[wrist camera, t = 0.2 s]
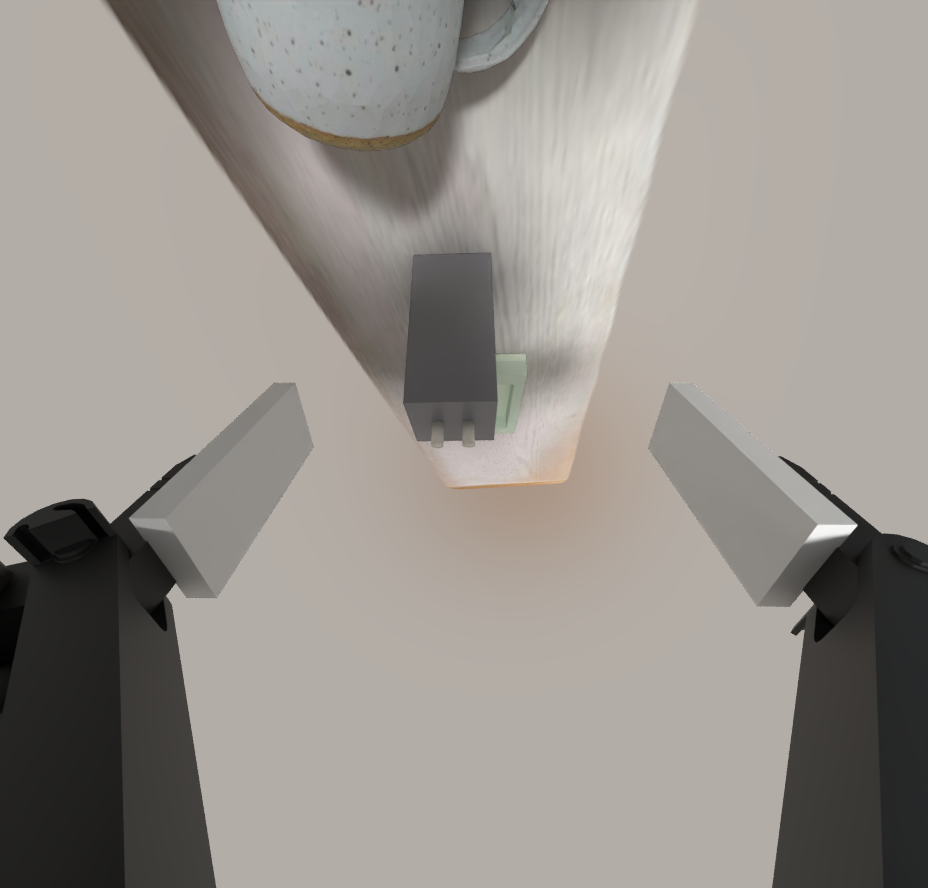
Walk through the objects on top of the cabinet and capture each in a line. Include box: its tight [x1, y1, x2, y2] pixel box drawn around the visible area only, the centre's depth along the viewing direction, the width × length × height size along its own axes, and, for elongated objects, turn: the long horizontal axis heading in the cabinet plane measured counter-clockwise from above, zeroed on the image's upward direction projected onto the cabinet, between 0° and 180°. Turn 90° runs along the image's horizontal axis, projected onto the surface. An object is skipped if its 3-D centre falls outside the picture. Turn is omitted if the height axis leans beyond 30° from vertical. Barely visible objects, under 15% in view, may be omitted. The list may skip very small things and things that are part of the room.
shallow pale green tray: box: [495, 353, 527, 433], centre depth 38 cm, size 12×10×2 cm
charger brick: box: [403, 253, 498, 448], centre depth 24 cm, size 5×5×12 cm
